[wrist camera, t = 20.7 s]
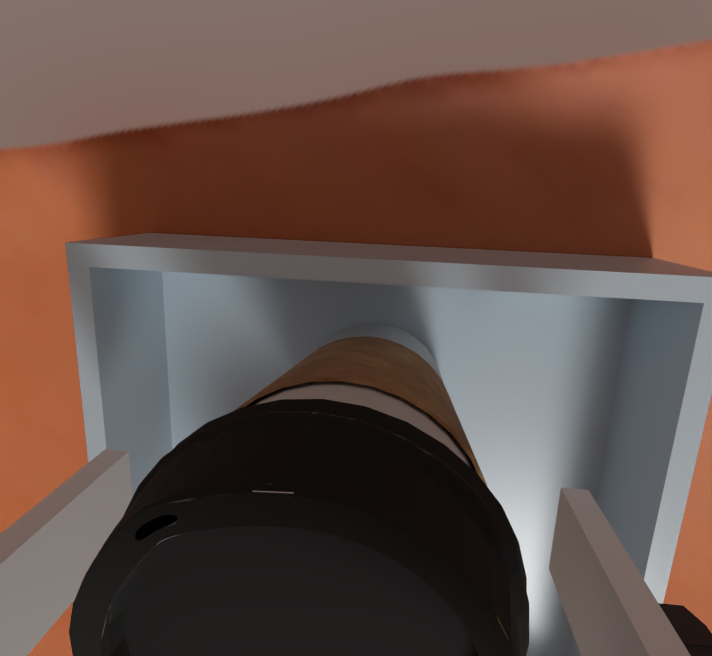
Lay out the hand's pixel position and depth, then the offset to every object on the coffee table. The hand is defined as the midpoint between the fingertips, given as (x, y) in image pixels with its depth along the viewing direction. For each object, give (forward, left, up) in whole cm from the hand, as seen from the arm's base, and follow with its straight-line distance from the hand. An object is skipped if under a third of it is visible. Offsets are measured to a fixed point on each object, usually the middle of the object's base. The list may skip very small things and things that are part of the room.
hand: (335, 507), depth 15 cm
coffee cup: (0, +1, -8) cm, 8 cm away
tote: (+1, -5, -8) cm, 10 cm away
